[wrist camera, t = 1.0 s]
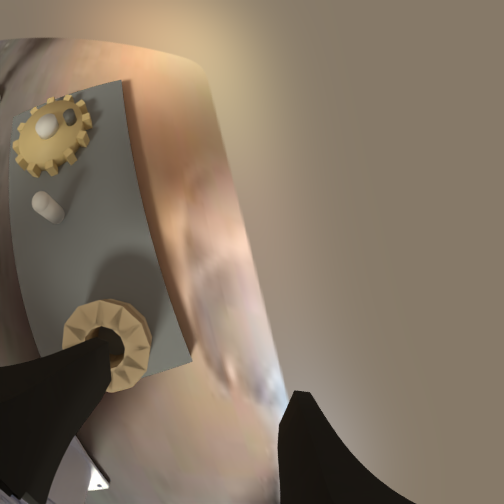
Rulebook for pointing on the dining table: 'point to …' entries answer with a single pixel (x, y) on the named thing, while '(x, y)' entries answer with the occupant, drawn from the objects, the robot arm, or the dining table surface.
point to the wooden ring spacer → (125, 325)
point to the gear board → (84, 223)
